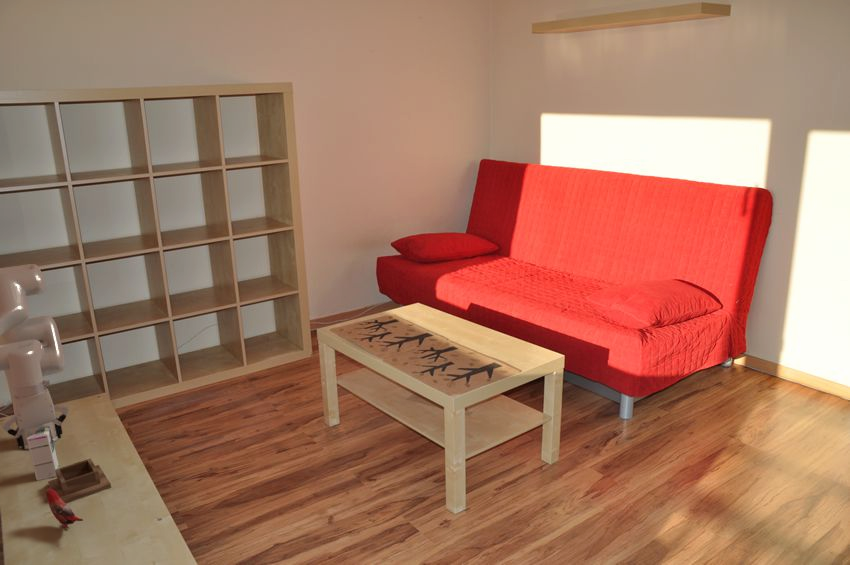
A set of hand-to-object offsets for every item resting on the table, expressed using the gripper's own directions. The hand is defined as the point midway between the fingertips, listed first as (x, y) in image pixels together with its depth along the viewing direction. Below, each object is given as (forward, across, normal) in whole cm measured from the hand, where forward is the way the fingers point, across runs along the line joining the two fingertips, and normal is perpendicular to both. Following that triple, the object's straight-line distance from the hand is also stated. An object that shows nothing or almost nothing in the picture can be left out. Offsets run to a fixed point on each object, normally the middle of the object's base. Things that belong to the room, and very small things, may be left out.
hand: (41, 442), depth 203 cm
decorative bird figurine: (+12, +1, +34) cm, 36 cm away
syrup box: (+11, 0, -1) cm, 11 cm away
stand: (+12, -6, +13) cm, 18 cm away
